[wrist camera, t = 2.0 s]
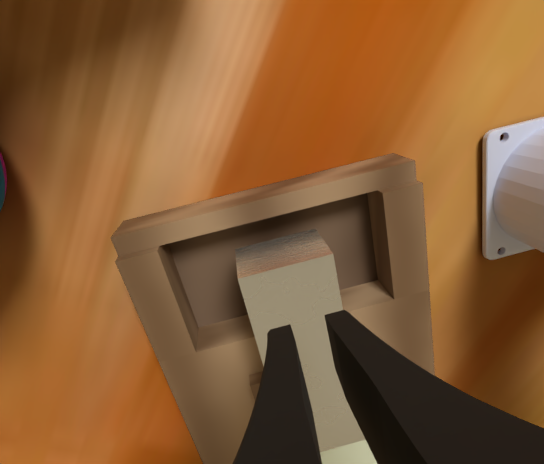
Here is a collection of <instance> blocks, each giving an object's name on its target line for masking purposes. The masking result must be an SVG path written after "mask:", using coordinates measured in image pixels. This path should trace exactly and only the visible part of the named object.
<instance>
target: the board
mask: <svg viewBox="0 0 544 464" xmlns="http://www.w3.org/2000/svg"><path fill="white" fill-rule="evenodd" d="M315 228H316V230H317V231H318V233H319V234H320V236H321V237H322V238H323V240H324V241H325V243H326V244H327V246H328V247H329V248H330V250H331V251H332V253H333V255H334V261H335V267H336V273H337V278H338V284H339V290H340V296H341V301H342V307H343V310H346V311H347V312H349V313H350V314H351V315H352V316H353V317H355V318H356V319H357V320H358V321H359V322H360V323H361V324H363V325H364V326H365V327H366V328H368V329H369V330H370V331H371V332H372V333H374V334H375V335H376V336H378V337H379V338H380V339H381V340H383V341H384V342H385V343H387V344H388V345H390V346H391V347H392V348H394V349H395V350H396V351H398V352H399V353H400V354H402V355H403V356H405V357H406V358H408V359H409V360H411V361H412V362H414V363H415V364H417V365H418V366H420V367H421V368H423V369H425V370H426V371H428V372H429V373H431V374H433V375H434V376H435V371H434V355H433V340H432V324H431V308H430V292H429V276H428V260H427V244H426V228H425V212H424V196H423V183H421V182H419V181H417V180H416V167H415V160H412V159H409V158H406V157H403V156H400V155H397V154H394V153H392V154H388V155H384V156H380V157H376V158H372V159H368V160H364V161H360V162H356V163H352V164H348V165H344V166H340V167H337V168H333V169H329V170H325V171H321V172H317V173H313V174H309V175H305V176H301V177H297V178H293V179H289V180H285V181H281V182H277V183H273V184H269V185H265V186H261V187H257V188H253V189H249V190H245V191H241V192H237V193H233V194H229V195H225V196H221V197H217V198H213V199H209V200H205V201H201V202H197V203H193V204H189V205H185V206H181V207H177V208H173V209H169V210H165V211H161V212H158V213H154V214H150V215H146V216H142V217H138V218H134V219H130V220H126V221H123V223H122V224H121V225H120V226H119V228H118V229H117V230H116V231H115V233H114V234H113V235H112V236H111V240H112V242H113V244H114V247H115V249H116V251H117V254H118V258H117V260H116V261H115V263H116V265H117V267H118V269H119V272H120V274H121V276H122V279H123V281H124V283H125V285H126V288H127V290H128V292H129V295H130V297H131V299H132V301H133V304H134V306H135V308H136V311H137V313H138V315H139V318H140V320H141V322H142V324H143V327H144V329H145V331H146V334H147V336H148V338H149V340H150V343H151V345H152V347H153V350H154V352H155V354H156V356H157V359H158V361H159V363H160V366H161V368H162V370H163V372H164V375H165V377H166V379H167V382H168V384H169V386H170V389H171V391H172V393H173V395H174V398H175V400H176V402H177V405H178V407H179V409H180V411H181V414H182V416H183V418H184V421H185V423H186V425H187V427H188V430H189V432H190V434H191V437H192V439H193V441H194V443H195V446H196V448H197V450H198V453H199V455H200V457H201V460H202V462H203V464H233V461H234V459H235V457H236V455H237V452H238V450H239V447H240V444H241V442H242V439H243V437H244V434H245V431H246V429H247V426H248V423H249V420H250V417H251V414H252V410H253V407H254V404H255V400H256V397H257V393H258V390H259V386H260V381H261V377H262V372H263V368H264V366H263V363H262V360H261V356H260V353H259V350H258V346H257V343H256V339H255V336H254V333H253V329H252V326H251V323H250V319H249V316H248V312H247V309H246V306H245V302H244V299H243V296H242V292H241V289H240V285H239V282H238V278H237V266H236V253H235V249H238V248H242V247H245V246H249V245H253V244H257V243H261V242H265V241H269V240H273V239H277V238H280V237H284V236H288V235H292V234H296V233H300V232H304V231H308V230H311V229H315Z"/></svg>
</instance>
